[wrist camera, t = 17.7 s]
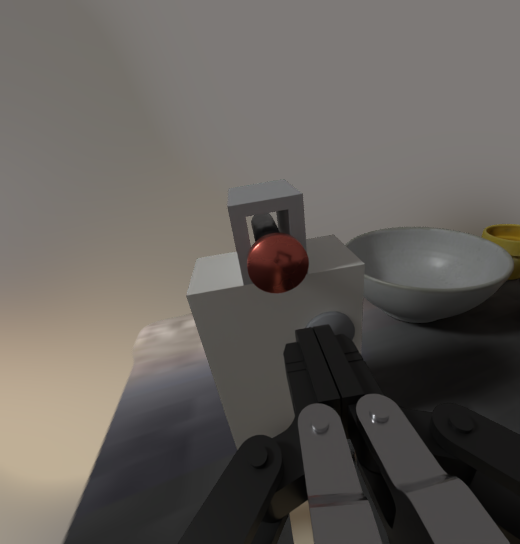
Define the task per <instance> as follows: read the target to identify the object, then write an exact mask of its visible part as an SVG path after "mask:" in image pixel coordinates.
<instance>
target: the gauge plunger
mask: <svg viewBox="0 0 520 544" xmlns="http://www.w3.org/2000/svg"><path fill="white" fill-rule="evenodd" d="M251 223H252V229H253V233H254V238H255V243H254V244H253V245H252V247H251V248H250V250H249V253H248V256H247V268H248V274H249V277H250V279H251V281H252V282H253V284H254V285H255V286H256V287H258V288H259V289H261V290H263V291H265V292H268V293H283V292H287V291H290V290H292V289H294V288H295V287H297V286H298V285H299V284H300V283H301V282H302V281H303V279H304V278H305V276H306V274H307V272H308V268H309V258H308V255H307V253H306V251H305V249H304V248H303V246H302V245H301V243H300V242H299V241H298V240H297V239H296V238H295V237H293V236H291V235H289V234H285V233H280V231H279V230H278V228H277V226H276V224H275V222H274V220H273V218H272V216H271V215H270V214H269V213H264V214H258V215H254V216H253V218H252V221H251Z"/></svg>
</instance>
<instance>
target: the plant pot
mask: <svg viewBox="0 0 520 544" xmlns="http://www.w3.org/2000/svg"><path fill="white" fill-rule="evenodd" d="M482 238H484V239H487V240H489V241H491V242H494V243H496V244H497V245H499V246H501V247H502V248H504V249H505V250H506V251H507V252H508V253H509V254H510V255H511V256H512V258H513V260H514V270H513V272H512V274H511V275H510V277H509V278H508V280H514V279H518V278H520V225H516V224H499V225H492V226H488V227H487V228H485V229H484V231H483V234H482Z"/></svg>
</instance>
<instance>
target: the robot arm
mask: <svg viewBox="0 0 520 544" xmlns="http://www.w3.org/2000/svg"><path fill="white" fill-rule="evenodd" d="M295 337H296V342H293V343H287V344H286V345H285V349H284V352H283V356H284V362H285V369H286V376H287V381H288V386H289V391H290V396H291V400H292V405H293V410H294V414H295V417H294V420H293V422H292V424H291V425H290V426H289V428H287V429H286V430H285V431H284V432H282V433H280V434H279V435H277V436H275V437H273V438H271V437H269V436H266V435H255V436H252V437H250V438H248V439H247V440H245V441H244V442H243V443H242V445H241V446H240V447H239V449H238V451H237V452H236V454H235V455H234V457H233V458H232V460H231V461H230V463H229V465H228V466H227V468H226V469H225V471H224V472H223V474H222V475H221V477H220V479H219V480H218V482H217V483H216V485H215V486H214V488H213V489H212V491H211V493H210V494H209V496H208V497H207V499H206V500H205V502H204V503H203V505H202V507H201V508H200V510H199V511H198V513H197V514H196V516H195V517H194V519H193V521H192V522H191V524H190V525H189V527H188V528H187V530H186V531H185V533H184V535H183V536H182V538H181V539H180V541H179V542H178V544H277V541H278V539H279V537H280V534H281V532H282V530H283V527H284V525H285V522H286V520H287V518H288V515H289V513H290V512H291V511H293V510H294V509H296V508H297V507H299V506H300V505H301V504H303V503H304V502H306V501H307V500H308V504H309V511H310V518H311V525H312V533H313V540H314V544H382V542H381V538H380V535H379V532H378V529H377V525H376V522H375V519H374V516H373V512H372V510H371V507H370V504H369V502H368V500H367V498H366V496H364V494H363V492H362V490H361V487H360V483H359V480H358V476H357V473H356V470H355V466H354V463H353V459H352V456H351V452H350V449H349V446H348V442H347V439H351V442H352V444H353V447H354V450H355V462H356V464H357V467H358V469H359V471H360V473H361V476H362V478H363V480H364V482H365V485H366V487H367V489H368V491H369V494H370V496H371V498H372V501H373V503H374V505H375V507H376V510H377V512H378V514H379V516H380V519H381V521H382V523H383V525H384V528H385V530H386V533H387V536H388V540H389V544H520V435H519V434H517V433H515V432H513V431H511V430H509V429H507V428H506V427H504V426H502V425H500V424H498V423H496V422H494V421H492V420H490V419H488V418H486V417H484V416H482V415H480V414H478V413H476V412H474V411H472V410H470V409H468V408H466V407H463V406H461V405H458V404H453V403H443V404H440V405H438V406H436V407H435V409H434V410H433V412H425V411H418V410H411V409H406V408H403V407H401V406H398V405H397V404H396V403H395V402H394V401H392V400H391V399H389V398H388V397H386V396H385V395H384V394H383V392H382V391H381V389H380V387H379V385H378V384H377V382H376V380H375V378H374V377H373V375H372V373H371V372H370V370H369V368H368V366H367V365H366V363H365V361H363V358H362V356H361V354H360V353H359V351H358V349H357V347H356V346H355V344H354V342H353V341H352V340H351V339H349V338H348V337H347V336H346V335H344V334H339V335H334V333H333V331H332V329H331V327H330V325H329V324H326V325H320V326H314V327H309V328H303V329H297V330H295Z"/></svg>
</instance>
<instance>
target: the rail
mask: <svg viewBox="0 0 520 544" xmlns="http://www.w3.org/2000/svg"><path fill="white" fill-rule="evenodd" d="M290 520H291V526H292V533H293V539H294V544H314V540H313V533H312V525H311V518H310V511H309V504H308V500H307V501H306V502H304V503H303V504H301V505H300V506H299V507H297V508H296V509H294V510H293V511H291V512H290Z"/></svg>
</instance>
